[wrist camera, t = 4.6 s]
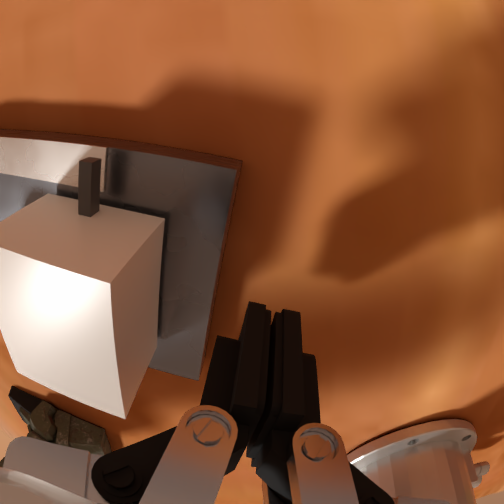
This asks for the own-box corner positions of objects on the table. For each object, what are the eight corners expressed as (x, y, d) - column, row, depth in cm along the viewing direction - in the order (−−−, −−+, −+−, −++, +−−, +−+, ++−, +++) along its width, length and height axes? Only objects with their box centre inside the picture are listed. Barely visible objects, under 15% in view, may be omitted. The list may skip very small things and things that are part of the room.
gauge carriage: (171, 166, 9) (109, 209, 6) (157, 346, 13) (125, 419, 10) (-1, 142, 9) (-73, 171, 6) (18, 297, 13) (-28, 345, 9)
